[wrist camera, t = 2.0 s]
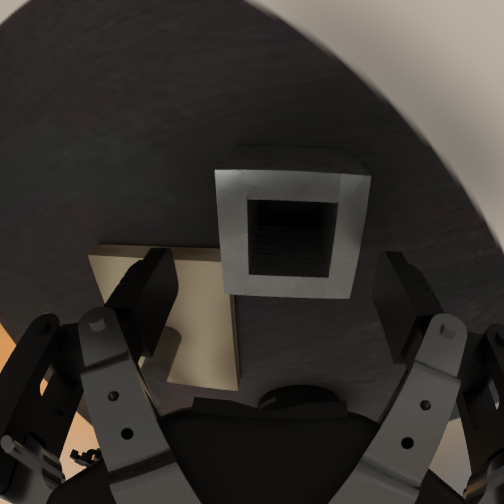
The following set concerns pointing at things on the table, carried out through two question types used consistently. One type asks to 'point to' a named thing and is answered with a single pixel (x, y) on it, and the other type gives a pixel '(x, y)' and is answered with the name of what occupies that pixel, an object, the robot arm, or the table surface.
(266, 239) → the block
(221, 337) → the shaft stand
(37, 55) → the table surface
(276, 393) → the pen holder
